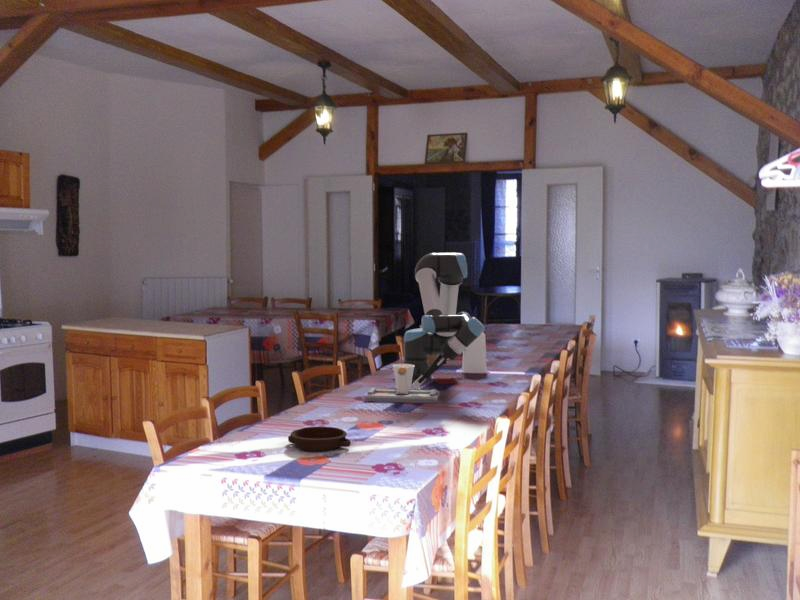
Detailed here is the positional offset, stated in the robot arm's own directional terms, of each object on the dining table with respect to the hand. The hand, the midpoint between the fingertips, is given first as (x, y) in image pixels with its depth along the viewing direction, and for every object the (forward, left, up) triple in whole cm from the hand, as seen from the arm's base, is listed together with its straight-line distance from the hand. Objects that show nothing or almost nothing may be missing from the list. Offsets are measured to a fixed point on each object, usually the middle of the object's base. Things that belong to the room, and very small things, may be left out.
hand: (413, 387), depth 330 cm
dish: (+80, +8, -6) cm, 81 cm away
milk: (-77, -7, -6) cm, 77 cm away
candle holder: (-87, -36, -6) cm, 94 cm away
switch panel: (+1, -5, -5) cm, 7 cm away
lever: (+1, -5, -4) cm, 6 cm away
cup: (-16, -14, -6) cm, 22 cm away
